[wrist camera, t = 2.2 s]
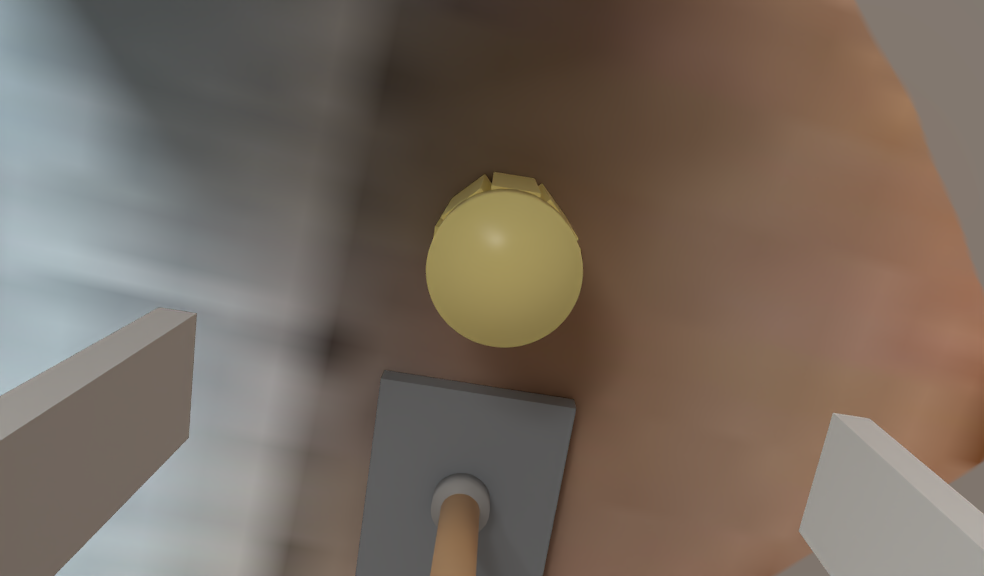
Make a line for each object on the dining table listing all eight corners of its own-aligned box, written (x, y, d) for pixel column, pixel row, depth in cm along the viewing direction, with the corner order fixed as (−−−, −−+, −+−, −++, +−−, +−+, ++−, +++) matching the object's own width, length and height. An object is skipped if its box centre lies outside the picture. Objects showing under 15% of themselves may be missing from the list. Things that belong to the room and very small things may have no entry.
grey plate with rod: (384, 370, 38) (343, 460, 28) (573, 399, 38) (598, 499, 28) (358, 569, 41) (312, 714, 31) (534, 595, 41) (544, 747, 31)
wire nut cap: (453, 165, 35) (437, 182, 27) (575, 184, 35) (596, 207, 27) (436, 283, 37) (416, 334, 28) (553, 302, 37) (567, 358, 28)
